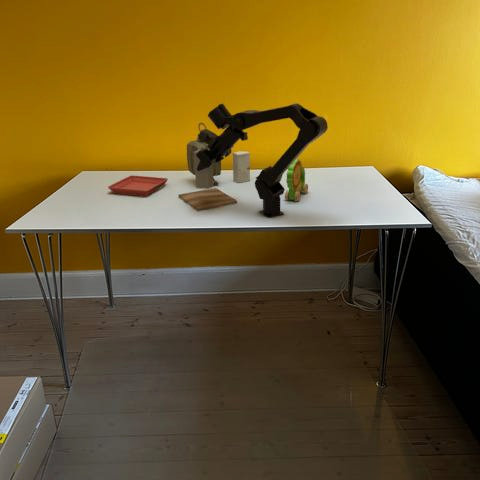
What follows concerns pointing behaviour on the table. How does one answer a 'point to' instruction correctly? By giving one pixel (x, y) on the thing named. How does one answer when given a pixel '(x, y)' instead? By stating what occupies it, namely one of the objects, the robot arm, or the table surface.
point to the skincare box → (241, 166)
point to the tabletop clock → (197, 145)
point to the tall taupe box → (203, 174)
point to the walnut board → (207, 199)
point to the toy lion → (295, 181)
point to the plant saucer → (138, 185)
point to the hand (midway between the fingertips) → (200, 168)
